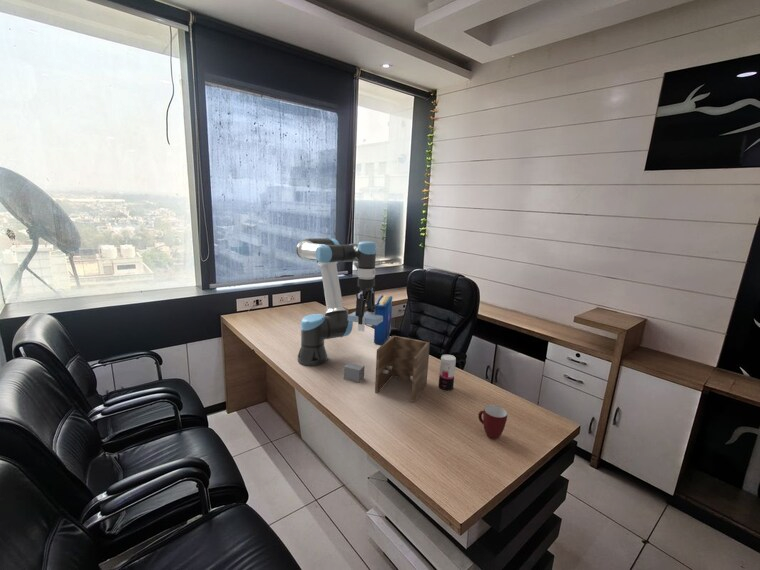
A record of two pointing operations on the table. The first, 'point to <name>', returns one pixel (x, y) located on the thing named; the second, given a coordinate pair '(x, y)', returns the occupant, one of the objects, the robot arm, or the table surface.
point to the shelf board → (367, 318)
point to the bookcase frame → (403, 363)
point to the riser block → (353, 372)
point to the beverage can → (447, 372)
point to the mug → (493, 420)
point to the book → (384, 327)
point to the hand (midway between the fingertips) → (365, 328)
